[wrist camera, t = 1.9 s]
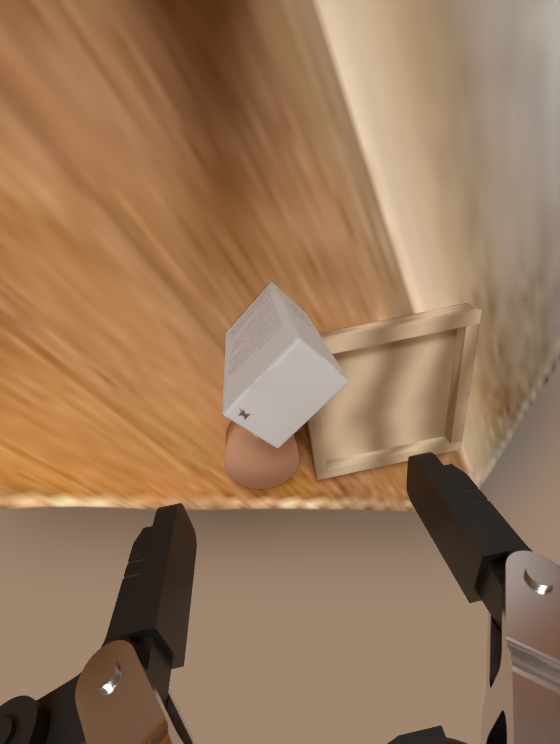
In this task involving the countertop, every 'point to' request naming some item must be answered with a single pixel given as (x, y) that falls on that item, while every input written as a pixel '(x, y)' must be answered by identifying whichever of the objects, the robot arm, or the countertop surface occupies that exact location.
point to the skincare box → (277, 369)
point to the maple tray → (396, 390)
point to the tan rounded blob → (258, 459)
